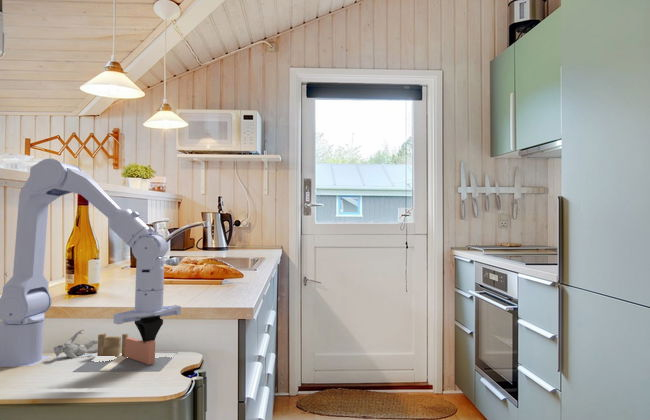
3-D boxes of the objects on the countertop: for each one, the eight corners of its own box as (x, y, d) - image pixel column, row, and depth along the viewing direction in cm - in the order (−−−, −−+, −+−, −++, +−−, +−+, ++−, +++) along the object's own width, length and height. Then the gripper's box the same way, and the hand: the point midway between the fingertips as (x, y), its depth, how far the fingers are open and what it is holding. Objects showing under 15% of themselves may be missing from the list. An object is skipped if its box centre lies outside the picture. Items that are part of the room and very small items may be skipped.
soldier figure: (116, 357, 103) (74, 353, 93) (101, 371, 104) (56, 368, 93) (106, 331, 107) (64, 324, 97) (91, 343, 107) (47, 338, 97)
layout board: (72, 374, 87) (72, 371, 88) (102, 355, 101) (102, 352, 101) (160, 374, 89) (160, 370, 89) (178, 354, 103) (178, 351, 103)
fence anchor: (97, 356, 98) (98, 334, 98) (99, 355, 99) (100, 333, 99) (126, 356, 98) (126, 334, 99) (128, 355, 100) (128, 333, 100)
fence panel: (123, 356, 98) (124, 335, 98) (129, 355, 99) (130, 334, 99) (148, 364, 92) (149, 342, 92) (154, 363, 93) (155, 341, 93)
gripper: (126, 294, 88) (124, 363, 88) (189, 287, 100) (187, 348, 99) (109, 291, 93) (107, 357, 92) (171, 285, 104) (170, 343, 104)
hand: (147, 352), depth 96 cm, fingers closed
